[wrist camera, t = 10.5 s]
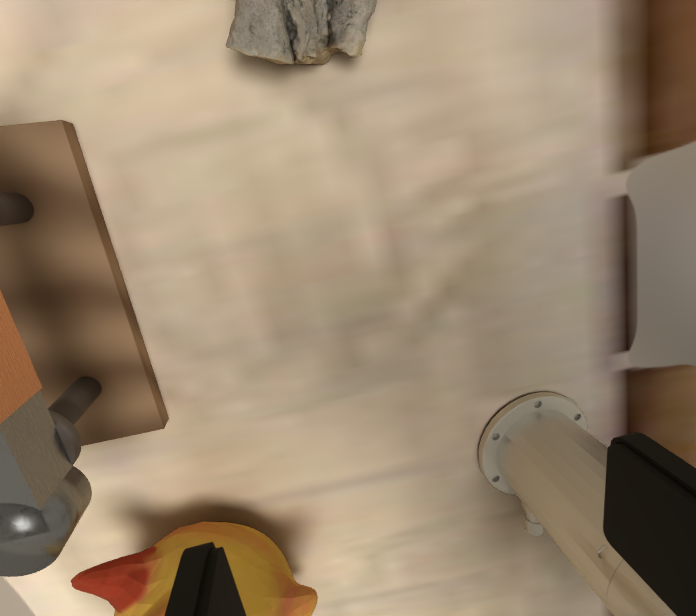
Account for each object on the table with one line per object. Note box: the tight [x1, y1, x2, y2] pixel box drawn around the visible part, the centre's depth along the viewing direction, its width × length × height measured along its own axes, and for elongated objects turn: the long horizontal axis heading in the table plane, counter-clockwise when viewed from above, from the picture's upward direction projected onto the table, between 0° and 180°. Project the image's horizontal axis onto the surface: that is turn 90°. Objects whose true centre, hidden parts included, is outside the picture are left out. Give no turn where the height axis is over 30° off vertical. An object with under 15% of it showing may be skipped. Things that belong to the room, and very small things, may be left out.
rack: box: [0, 120, 169, 465], centre depth 25 cm, size 24×9×10 cm, turn 7°
